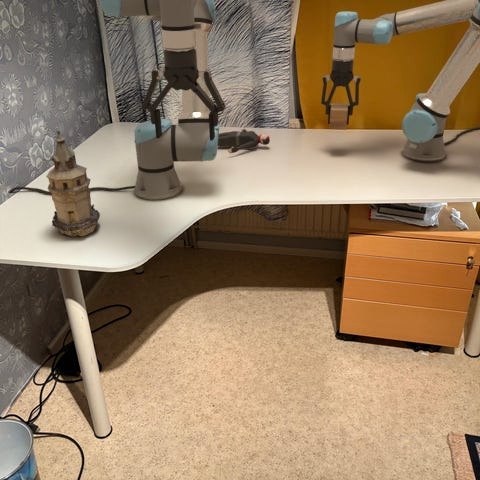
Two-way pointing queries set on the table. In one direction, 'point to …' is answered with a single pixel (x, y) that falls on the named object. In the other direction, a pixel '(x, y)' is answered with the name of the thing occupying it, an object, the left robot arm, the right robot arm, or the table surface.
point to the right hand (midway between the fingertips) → (338, 123)
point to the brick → (338, 116)
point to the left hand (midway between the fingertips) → (185, 137)
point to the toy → (241, 140)
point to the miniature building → (70, 193)
